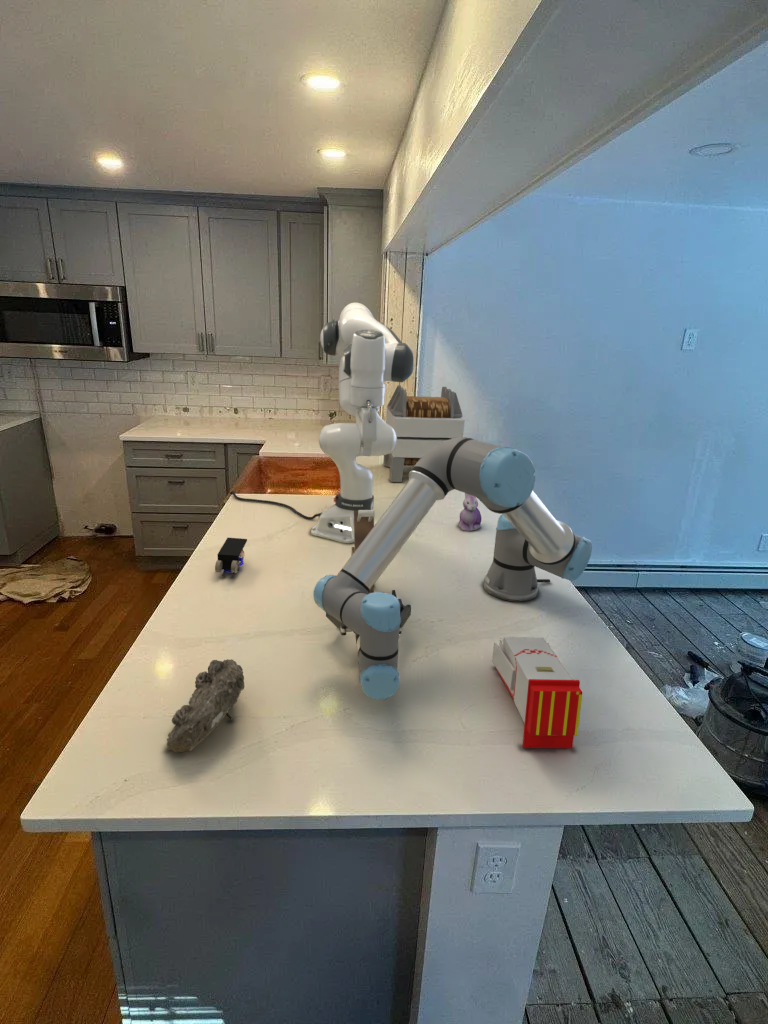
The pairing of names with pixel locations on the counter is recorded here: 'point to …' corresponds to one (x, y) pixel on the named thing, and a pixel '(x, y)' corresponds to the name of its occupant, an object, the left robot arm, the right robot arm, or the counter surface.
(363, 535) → the door
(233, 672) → the fossil
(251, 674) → the counter surface
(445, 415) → the transformer
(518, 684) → the toy
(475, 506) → the figurine
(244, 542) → the figurine character
